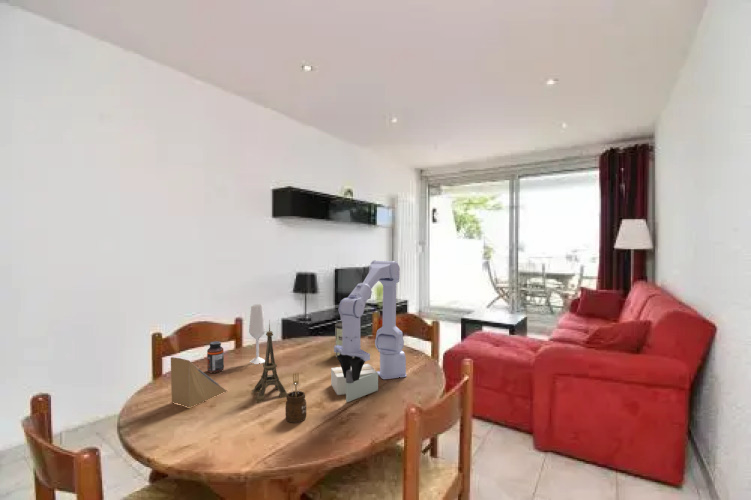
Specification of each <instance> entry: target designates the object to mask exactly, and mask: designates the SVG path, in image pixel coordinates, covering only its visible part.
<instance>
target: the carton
mask: <svg viewBox="0 0 751 500" xmlns="http://www.w3.org/2000/svg"><path fill="white" fill-rule="evenodd" d="M351 370H352V368H351ZM375 372H377V370H375V368H374V367H373V366H372V365H370V363H364V365H363V367H362V370H361V373H360V377H359V378H361V377H364V376H367V375H370V374H372V373H375ZM330 379H331V380H330V383H331V384H330V385H331V387H332V389H333V390H334V392H335V394H336V396H341V395H342V396H343V395H346V378H344V375H343V371H342V368H341V366H339V367H337V366H336V367H331V368H330Z"/></svg>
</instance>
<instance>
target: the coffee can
mask: <svg viewBox="0 0 751 500" xmlns="http://www.w3.org/2000/svg"><path fill="white" fill-rule="evenodd" d="M334 326H335V327H334V328H335V335H334V336H335V338H334V339H335V346H337V345H340V346H342V321H340V322H336V323H335V324H334ZM338 355H340V353H339V352H335V357H336V358H337V356H338ZM353 358H354V357H353ZM353 358H352V359H353Z"/></svg>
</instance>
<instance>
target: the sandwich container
mask: <svg viewBox="0 0 751 500" xmlns="http://www.w3.org/2000/svg"><path fill="white" fill-rule="evenodd" d="M170 381H171V382H170V384H171V387H170V388H171V403H172V402H174V403H178V404H181V405H184V406H187V407H191V406H194V405H196V404H199V403H201V402H203V401H205V400H208V399H210V398H212V397H214V396H216V397H218V396H217V395H219V394H221V393H223V392H225V393H227V392H228V390H227V389H226V388H224V387H223V386H222V385H220V384H219V383H217V382H216V381H215V380H214V379H213V378H211V377H210V376H209V375H207V374H206V373H205V372H203V371H202V370H201V369H200V368H199V367H198V366H196V364H194V363H193V362H192V361H190V360H188V359H185V358H181V357H174V356H172V357H170ZM226 391H227V392H226ZM223 394H224V393H223ZM221 395H222V394H221ZM219 396H220V395H219ZM214 398H215V397H214ZM212 399H213V398H212ZM210 400H211V399H210ZM208 401H209V400H208ZM203 403H204V402H203ZM201 404H202V403H201ZM199 405H200V404H199ZM196 406H197V405H196ZM194 407H195V406H194Z"/></svg>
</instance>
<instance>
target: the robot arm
mask: <svg viewBox="0 0 751 500" xmlns="http://www.w3.org/2000/svg"><path fill="white" fill-rule="evenodd" d="M400 267H401V266H400V265H399V263H398V262H397V261H396V260H391V261H390V260H375V259H374V260H372V261H371V262H370V264H369V266H368V273H367V275H366V277H365V278H364V280H363V281H362V282H359V283H357V285H356V286H355V287H354V289H353V290H351V292H350V294H349V295H348V296H347V297H344V298H343V299H341V300H340V302H339V304H338V305H339V306H338V308H337V309H338V313H339V315H340V322H342V346H340V345H337V346H336V345H334V346H333V352H334V353H336V352H339V353H340V355H338V356H337V357H336V359H337V360H338V362H339V364H340V367H341V368H342V371H343V375H344V378H346V370H350V369H351V368H352V379H353V381H357V380H359V377H360V373H361V370H362V367H363V365H364V364H366V362H367V361H370V360H371V353H369V352H367V351H365V350H363V349H362V348H361V317H362V316H363V315H364V311H365V307H366V303H367V302H368V300H369V299H370V297H371V295H372V293H373V292H372V289H373V287H374V286H375V285H376V284H378V282H380V283H381V285H382V326H381V327H380V328H378V329H377V331H376V335H375V339H374V345H375V348H376V350H378V353H379V370H378V371H377V370H376V372H377V373H378V377H380V378H381V379H383V380H389V379H390V380H391V379H398V378H399V377H400V378H406V377H407V366H406V365H407V363H406V362H407V359H406V353H405V351H403V348H404V345H405V339H404V333H403V331H402V330H401V329H400V328H399V327H398V326H397V324H396V323H397V312H396V311H397V283H399V282H400V279H401V278H400V277H401V276H400ZM353 357H354V358H353ZM400 378H399V379H400Z"/></svg>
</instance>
